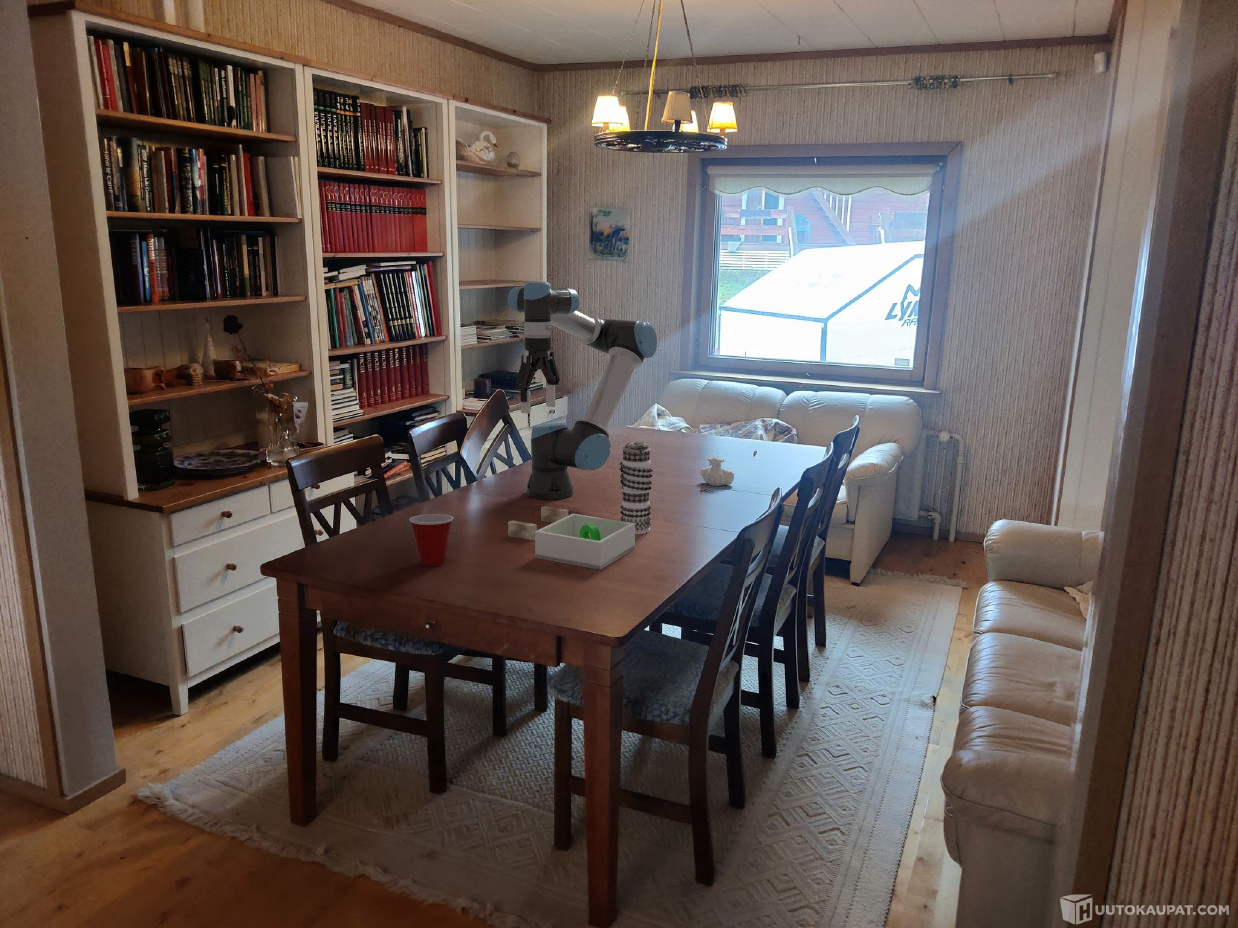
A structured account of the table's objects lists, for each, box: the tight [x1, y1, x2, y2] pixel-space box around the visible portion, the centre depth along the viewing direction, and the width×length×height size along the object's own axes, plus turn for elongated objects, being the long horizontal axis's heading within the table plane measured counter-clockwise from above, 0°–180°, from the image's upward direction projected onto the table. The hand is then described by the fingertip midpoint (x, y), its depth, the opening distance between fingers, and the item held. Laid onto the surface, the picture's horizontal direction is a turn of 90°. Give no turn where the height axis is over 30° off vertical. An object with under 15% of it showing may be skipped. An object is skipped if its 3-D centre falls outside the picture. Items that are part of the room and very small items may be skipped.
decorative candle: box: [619, 441, 653, 535], centre depth 253 cm, size 9×9×25 cm
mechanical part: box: [578, 524, 600, 541], centre depth 233 cm, size 12×6×8 cm, turn 47°
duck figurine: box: [699, 455, 735, 487], centre depth 306 cm, size 12×8×11 cm
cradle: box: [507, 505, 569, 541], centre depth 255 cm, size 8×19×4 cm, turn 153°
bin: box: [534, 513, 636, 571], centre depth 234 cm, size 19×19×7 cm
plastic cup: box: [409, 513, 454, 567], centre depth 225 cm, size 11×11×12 cm
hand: (538, 410), depth 263 cm, fingers open, 13 cm apart
